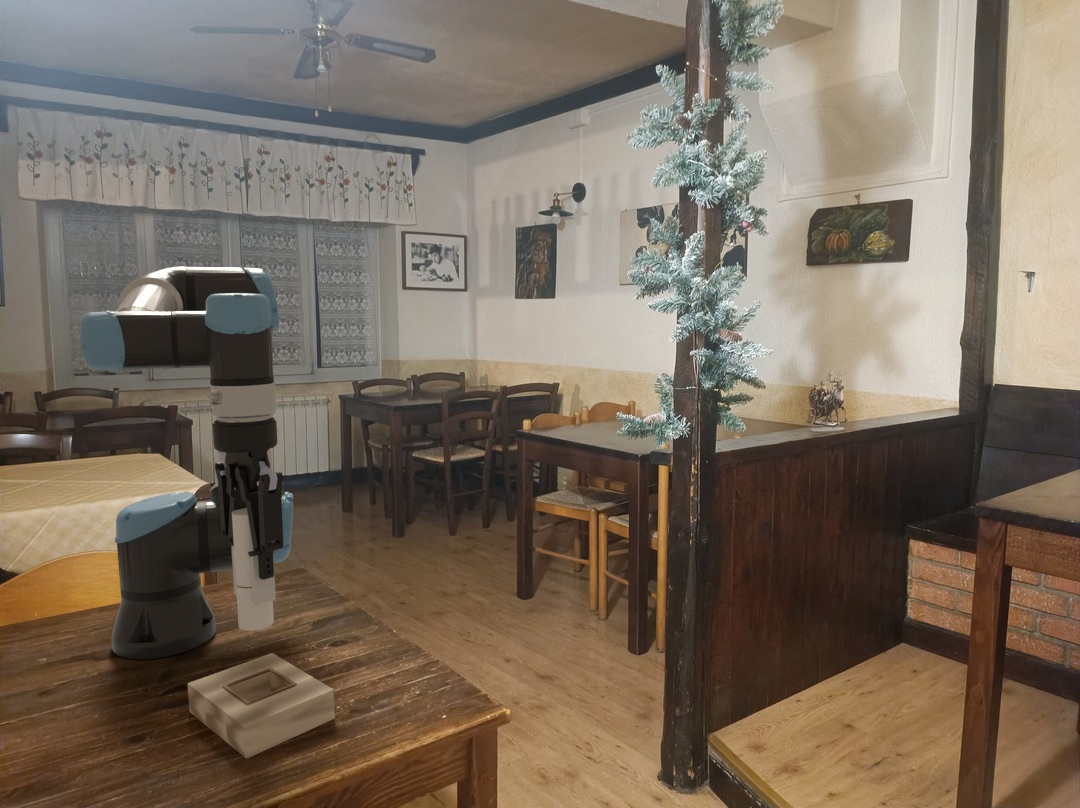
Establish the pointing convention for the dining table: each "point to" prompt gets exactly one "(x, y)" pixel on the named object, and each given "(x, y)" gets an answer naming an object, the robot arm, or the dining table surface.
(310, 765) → the dining table surface
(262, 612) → the tube
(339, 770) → the dining table surface
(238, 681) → the socket board
